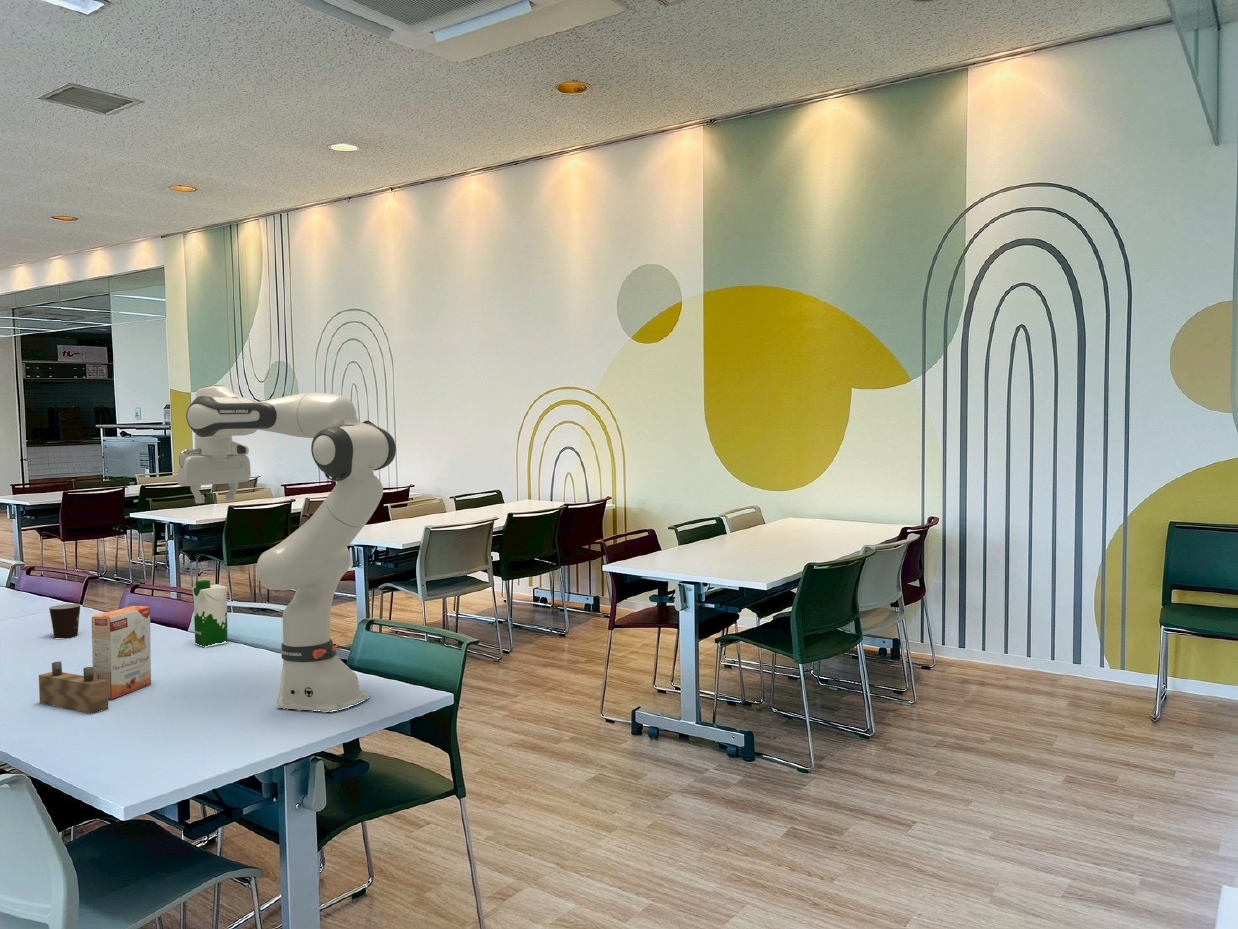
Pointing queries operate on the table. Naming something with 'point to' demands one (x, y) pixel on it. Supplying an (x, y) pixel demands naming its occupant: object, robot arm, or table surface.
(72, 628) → the coffee mug
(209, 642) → the milk carton
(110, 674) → the cracker box
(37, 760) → the table surface
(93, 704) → the walnut bar
